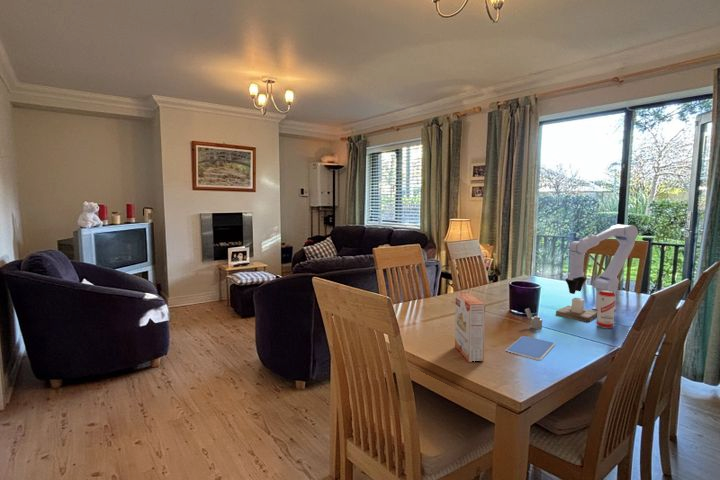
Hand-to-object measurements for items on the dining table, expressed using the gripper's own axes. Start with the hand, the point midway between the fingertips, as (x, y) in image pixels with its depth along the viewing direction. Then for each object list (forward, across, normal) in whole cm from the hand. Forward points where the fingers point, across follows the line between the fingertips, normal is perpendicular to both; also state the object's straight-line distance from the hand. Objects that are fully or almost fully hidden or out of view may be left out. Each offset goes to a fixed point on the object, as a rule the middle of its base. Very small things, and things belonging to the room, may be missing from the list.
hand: (575, 292), depth 187 cm
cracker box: (+10, +86, -4) cm, 87 cm away
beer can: (+10, +15, +18) cm, 25 cm away
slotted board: (+9, +7, +4) cm, 12 cm away
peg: (+9, +7, +4) cm, 12 cm away
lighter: (+10, +40, -2) cm, 41 cm away
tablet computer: (+10, +63, +8) cm, 64 cm away
